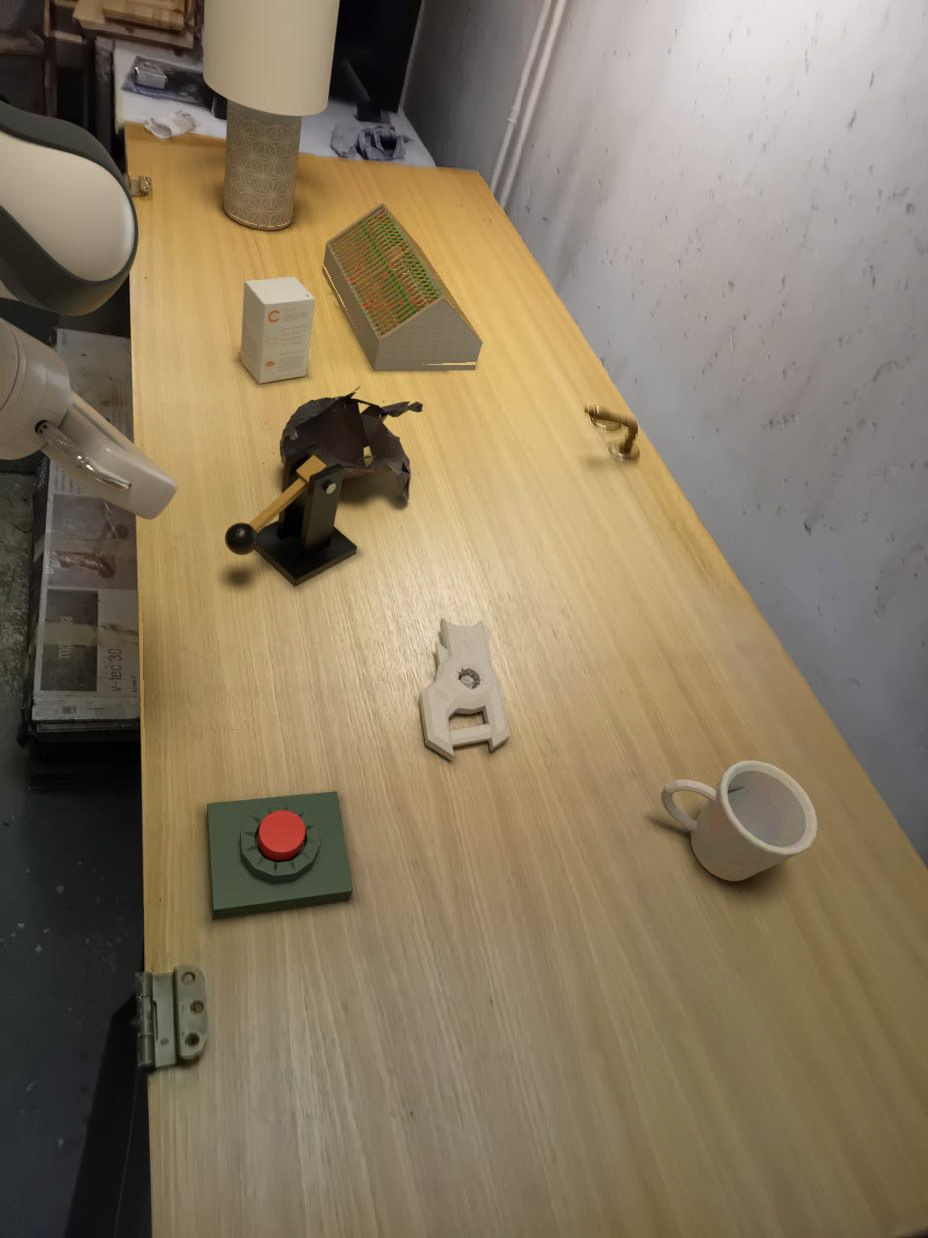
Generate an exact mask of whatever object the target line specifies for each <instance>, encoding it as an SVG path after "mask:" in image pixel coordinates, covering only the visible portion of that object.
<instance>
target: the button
mask: <svg viewBox="0 0 928 1238" xmlns="http://www.w3.org/2000/svg"><path fill="white" fill-rule="evenodd" d="M304 837H305V825H304V823H303V821H302V820H301V818H300V817H299V816H298V815H296V814H295V813H293V812H290V811H286V810H280V811H275V812H272V813H270V814H269V815H267V816H266V817H265V818H264V819H263V821H262V822H261V824H260V827H259V833H258V845H259V848H260V850H261V851H262V853H263V854H264V855H265V856H267V857H268V858H270V859H273V860H279V861H281V860H287V859H290V858H292V857H294V856H295V855H296V854H297V853H298V852H299V851H300V849H301V848H302V845H303V841H304Z"/></svg>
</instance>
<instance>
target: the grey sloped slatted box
mask: <svg viewBox="0 0 928 1238" xmlns="http://www.w3.org/2000/svg"><path fill="white" fill-rule="evenodd" d="M323 257H324V258H323V264H324V266H325V267H326V269H327V271H328V273H329V275H330V277H331V280H332V282H333V284H334V286H335V288H336V290H337V292H338V294H339V295H340V297H341V299H342V301H343V303H344V305H345V307H346V309H347V311H346V309H345V307H344V306H343V304H342V302H341V300H340V298H339V296H338V294H337V292H336V290H335V288H334V287H333V285H332V283H331V281H330V279H329V277H328V275H327V273H326V271H325V269H324V268H323V267H322V270H321V271H322V274H323V276H324V278H325V280H326V282H327V283H328V285H329V287H330V289H331V292H332V293H333V295H334V298H335V299H336V301H337V303H338V305H339V306H340V308H341V311H342V312H343V314H344V316H345V318H346V320H347V322H348V324H349V326H350V327H351V330H352V332H353V334H354V335H355V337H356V339H357V341H358V344H359V345H360V347H361V349H362V350H363V352H364V355H365V356H366V358H367V360H368V362H369V364H370V366H371V368H372V370H373V371H475V370H476V367H477V364H476V365H428V364H442V363H466V362H477V363H478V360H479V356H480V353H481V350H482V347H483V343H484V341H483V340H482V338H481V337H480V335H479V333H477V331H476V329H475V327H474V326H473V325H472V323H471V322H470V320H469V318H468V317H467V316H466V314H465V313H464V310H462V308H461V307H460V305H459V303H458V302H457V300H456V299H455V298H454V296H453V295H452V292H451V291H450V290H449V289H448V287H447V286H446V284H445V283H444V282H443V279H442V278H441V276H440V275H439V273H438V272H437V270H436V269H435V268H434V266H433V264H432V262H431V261H430V259H429V258H428V257H427V255H426V253H425V252H424V250H423V248H421V246H420V245H419V244H418V242H417V241H416V240H415V239H414V238H413V237H412V235H411V234H410V233H409V232H408V230H407V229H406V228H405V227H404V226H403V224H401V222H400V221H399V220H398V219H397V218H396V216H395V215H394V214H393V213H392V212H391V210H390V209H389V208H388V206H387V205H386V204H385V203H384V202H381V203H379V204H378V205H375V207H373V208H372V209H371V210H369V211H368V212H367V213H365V214H364V215H362V216H361V217H359V218H358V219H357V220H355V221H353V222H352V223H350V225H348V226H347V227H345V228H344V229H343V230H341V231H340V232H338V233H337V234H335V235H334V236H332V237H331V238H330V239H328V240H327V241H326V242H325V250H324V255H323ZM323 264H322V265H323ZM356 267H357V268H356ZM362 267H363V268H362ZM393 269H396V270H393ZM408 270H409V271H408ZM403 273H406V274H403ZM409 273H410V274H409ZM399 276H401V277H399ZM417 281H418V282H417ZM347 312H348V313H347ZM348 314H349V315H348ZM349 316H350V317H349ZM350 318H351V319H350ZM351 320H352V321H351ZM352 322H353V323H352ZM353 324H354V325H353ZM355 327H356V328H355ZM423 364H424V365H423ZM426 364H427V365H426Z"/></svg>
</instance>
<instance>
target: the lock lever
mask: <svg viewBox="0 0 928 1238" xmlns="http://www.w3.org/2000/svg"><path fill="white" fill-rule="evenodd" d="M326 468H327V466H326V465H325V464H324V463H323V462H322V461H320V460H319V459H318V458H317V457H316V456H314V455H313V456H312V457H311V458H310V459H308V460H307V461H306V462H305V463H304V464H303V465H302V466H301V467H300V468H298V469H297V470H296V472H297V474H298V476H299V479H298V480H297V481H295V482H294V483H293V484H292V485H291V486H290V487H289V488H288V489H287V490H286V491H284V492H283V493H282V492H281V493H282V494H281V493H280V495H279V496H277V498H276V499H274V500H273V501H272V502H271V503H270V504H269V505H268V506H266V508H265V509H263V510H262V511H261V512H260V513H258V514H257V515H256V517H254V518H253V519H252V520H251V521H250V522H249V523H247V522H235V523H233V524H232V525H230V526H229V527H227V528H228V529H227V530H226V532H225V535H224V542H225V545H226V547H227V549H228V550H229V551H230V552H231V553H233V554H234V555H238V556H247V555H249V554H251V553H252V552H254V551H256V550H255V548H256V547H257V544H258V534H257V533H258V532H259V531H260V530H262V529H263V528H264V527H265V526H267V525H269V524H270V522H272V521H273V520H274V519H275V518H276V517H277V516H279V513H280V512H281V511H282V510H284V509H285V508H286V507H287V506H288V505H289V504H290V503H291V502H292V501H293V500H295V499H296V498H297V497H298V496H299V495H300V494H301V493H302V492H303V491H304V490H306V489H307V488H308V484H309V478H310V475H313V474H315V473H317V472H319V471H322V470H324V469H326Z"/></svg>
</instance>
